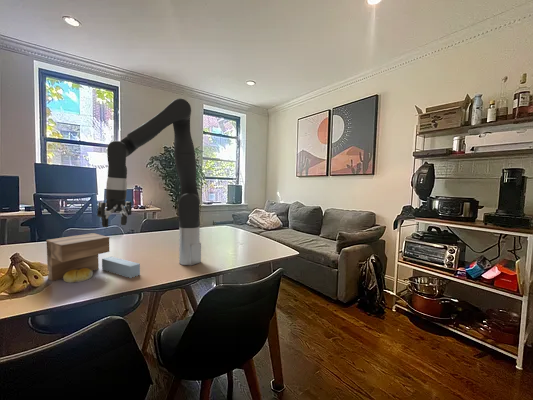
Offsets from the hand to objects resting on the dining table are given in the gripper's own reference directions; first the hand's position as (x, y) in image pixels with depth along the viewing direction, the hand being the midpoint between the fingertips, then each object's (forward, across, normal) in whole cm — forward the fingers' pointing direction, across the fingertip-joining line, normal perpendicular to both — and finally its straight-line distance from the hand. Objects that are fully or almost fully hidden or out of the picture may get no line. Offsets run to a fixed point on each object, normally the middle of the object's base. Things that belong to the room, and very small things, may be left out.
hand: (114, 225), depth 107 cm
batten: (+19, -2, -7) cm, 20 cm away
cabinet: (+19, -11, +4) cm, 23 cm away
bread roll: (+20, -13, +2) cm, 24 cm away
